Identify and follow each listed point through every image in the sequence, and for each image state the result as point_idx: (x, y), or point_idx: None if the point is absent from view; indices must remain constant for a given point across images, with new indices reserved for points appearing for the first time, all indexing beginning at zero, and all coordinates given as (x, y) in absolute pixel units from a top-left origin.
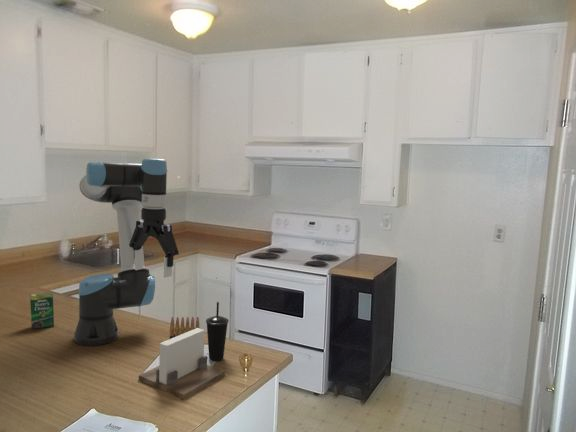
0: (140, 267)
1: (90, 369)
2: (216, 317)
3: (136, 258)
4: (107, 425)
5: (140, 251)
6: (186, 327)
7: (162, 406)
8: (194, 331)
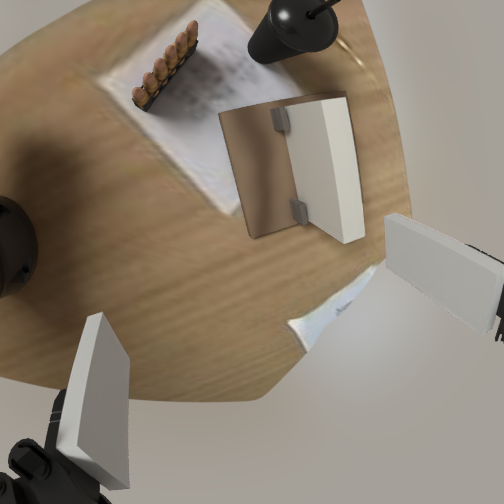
0: (110, 338)
1: (148, 298)
2: (313, 20)
3: (125, 426)
4: (338, 313)
5: (98, 450)
6: (172, 60)
7: None
8: (338, 125)
